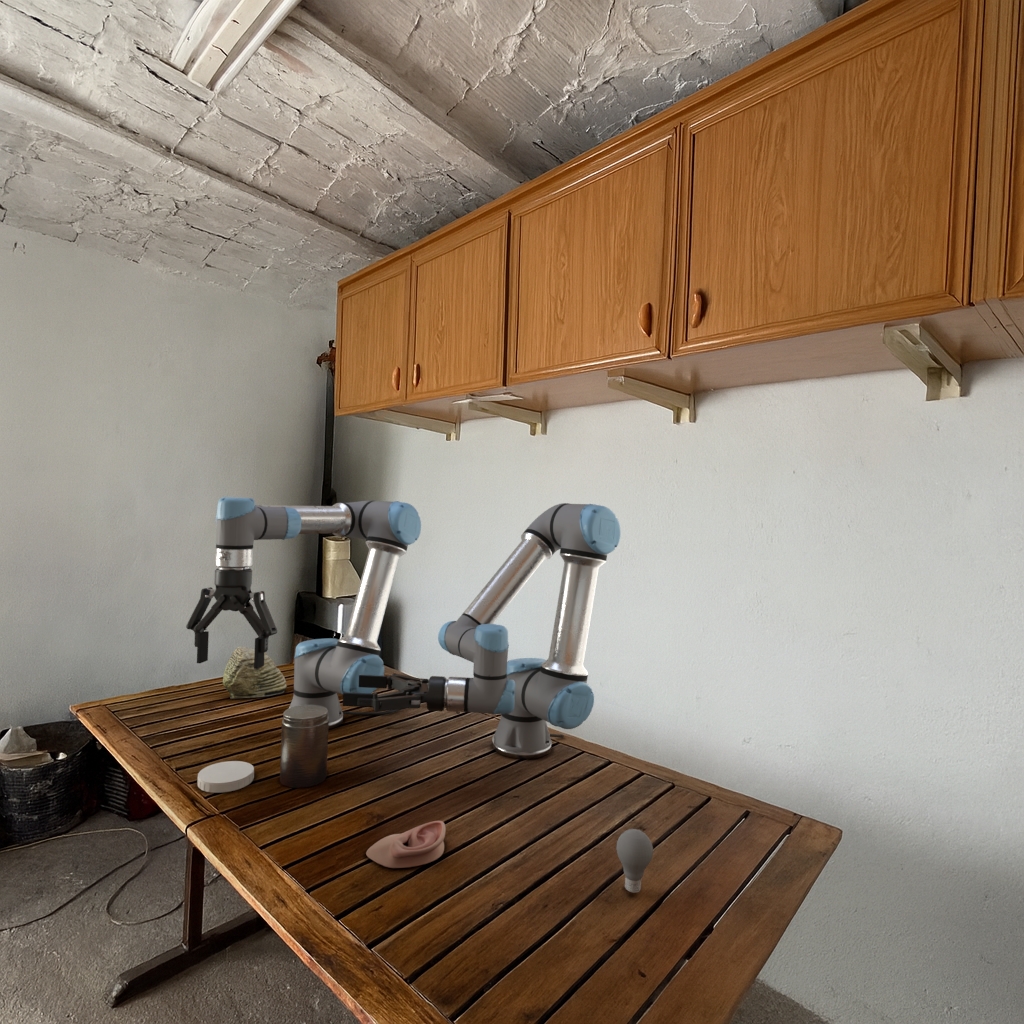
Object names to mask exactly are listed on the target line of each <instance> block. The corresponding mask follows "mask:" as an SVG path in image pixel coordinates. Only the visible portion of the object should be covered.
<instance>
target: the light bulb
mask: <svg viewBox="0 0 1024 1024" xmlns="http://www.w3.org/2000/svg"><path fill="white" fill-rule="evenodd" d="M615 849H616V854H617V857H618V859H619V861H620V863H621V865H622V867H623V873H624V874H623V875H624V876H625V878H624V888H625V890H627V891H628V892H630V893H634V894H635V893H639V892H640V891H641V889H642V887H641V886H642V879H643V877H644V875H645V871H646V868H647V867H648V866H649V864H650V863H651V861H652V859H653V855H654V847H653V843H652V841H651V838H649V836H648V835H647V834H646V833H645V832H643V831H642V830H641V829H636V828H629V829H627V830H625V831H623V832H622V833H621V834H620V835H619V837H618V839H617V841H616V847H615Z"/></svg>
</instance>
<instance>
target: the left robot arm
mask: <svg viewBox="0 0 1024 1024" xmlns="http://www.w3.org/2000/svg"><path fill="white" fill-rule="evenodd" d="M421 522H422V521H421V517H420V515H419V512H418V510H417V509H416V507H414V505H412V504H411V503H408V502H402V501H399V500H395V501H387V500H386V501H385V500H370V499H369V500H361V501H350V502H336V503H334V504H333V505H283V504H282V505H281V504H280V505H278V504H277V505H275V504H273V505H271V504H270V505H269V504H259V505H258V504H256V502H255V499H254V498H251V497H234V496H233V497H232V496H223V497H220V498H219V499H218V501H217V507H216V515H215V525H216V528H215V556H214V557H215V558H214V559H215V561H214V565H215V567H217V568H216V569H215V570H214V581H213V582H214V586H215V588H213V587H209V586H208V587H204V588H201V590H200V596H199V599H198V601H197V603H196V605H195V608H194V610H193V611H192V613H191V616H190V617H189V620H188V621H187V623H186V626H185V628H186V629H187V630H191V631H193V633H194V643H193V645H194V647H195V648H196V649H197V650H196V664H202V663H205V662H207V661H209V636H210V635H209V633H210V631H209V630H208V627H209V626H210V625H211V624H212V622H213V621H214V620H215V619H216V618H217V617H218V615H219V614H220V613H221V612H222V611H225V612H227V611H232V612H239V613H240V614H241V615H243V617H244V618H245V619H246V621H247V622H248V624H249V625H250V626H251V628H252V630H253V631H254V633H256V635H257V636H258V637H255V638H254V649H255V653H254V669H258V668H260V667H262V666H264V653H267V652H268V651H269V637H271V636H275V635H276V634H277V633H278V628H277V626H276V624H275V622H274V618H273V616H272V613H271V612H270V609H269V607H268V604H267V602H266V593H265V591H264V590H261V591H252V588H251V587H252V584H253V570H252V568H251V567H252V566H253V565H254V563H253V562H254V541H260V540H265V541H267V540H281V541H285V540H290V539H295V538H296V537H297V536H298V535H313V534H315V535H318V534H333V535H334V536H335V537H348V538H354V539H360V540H364V541H365V545H366V547H367V548H368V553H367V556H366V560H365V564H364V567H363V571H362V574H361V577H360V581H359V585H358V589H357V592H356V596H355V599H354V603H353V606H352V610H351V614H350V617H349V618H350V619H349V621H348V624H347V627H346V631H345V635H344V636H342V637H340V638H339V639H338V638H335V637H334V638H331V637H329V638H315V639H308V640H304V641H301V642H299V643H298V644H297V645H296V646H295V652H294V656H293V659H294V661H293V662H294V663H293V664H294V668H293V695H292V696H293V697H292V699H291V702H290V704H289V706H288V709H289V708H291V707H294V706H299V705H319V706H323V707H325V708H327V710H328V715H327V716H328V717H329V729H328V731H329V730H332V729H335V728H337V727H339V726H340V725H342V723H343V722H344V715H351V716H384V715H390V714H393V713H397V712H398V711H400V710H401V709H398V710H389V711H379V712H375V711H371V712H370V711H343V709H342V706H341V702H340V699H339V695H342V696H343V693H344V692H347V693H369V694H373V693H374V692H375V691H377V689H378V688H365V687H359V675H374V676H385V666H384V661H383V659H382V658H381V656H380V654H381V647H380V645H379V644H378V639H379V635H380V632H381V628H382V624H383V620H384V617H385V612H386V609H387V605H388V601H389V597H390V594H391V590H392V587H393V583H394V579H395V575H396V571H397V567H398V563H399V560H400V558H401V557H402V556H404V555H406V553H407V551H408V547H409V546H410V545H413V544H415V542H416V541H418V539H419V538H420V535H421V531H422V523H421ZM213 598H214V599H215V602H214V603H213V604H212V605H211V607H210V609H209V610H208V612H207V613H206V611H207V609H208V607H209V605H210V604H211V601H212V599H213ZM251 601H252V602H253V605H254V606H253V605H252V603H251ZM254 609H256V610H254ZM256 612H257V613H256ZM205 613H206V614H205ZM207 630H208V631H207ZM338 694H339V695H338Z"/></svg>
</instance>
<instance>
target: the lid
mask: <svg viewBox="0 0 1024 1024" xmlns="http://www.w3.org/2000/svg"><path fill="white" fill-rule="evenodd" d="M196 778H197V779H196V780H197V781H196V783H197V785H196V786H197V788H198V789H199V790H201V791H203V792H206V793H211V794H214V793H215V794H218V793H219V794H220V793H221V794H222V793H229V792H232V791H233V792H234V791H238V790H240V789H242V788H245V787H247V786H249V785H251V783H252V782H253V781H254V778H255V767H254V765H252V764H251V763H249V762H247V761H241V760H229V761H228V760H227V761H220V762H216V763H213V764H209V765H208V766H205V767H203V768H202V769H201V770H199V772H198V773H197V777H196Z"/></svg>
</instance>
